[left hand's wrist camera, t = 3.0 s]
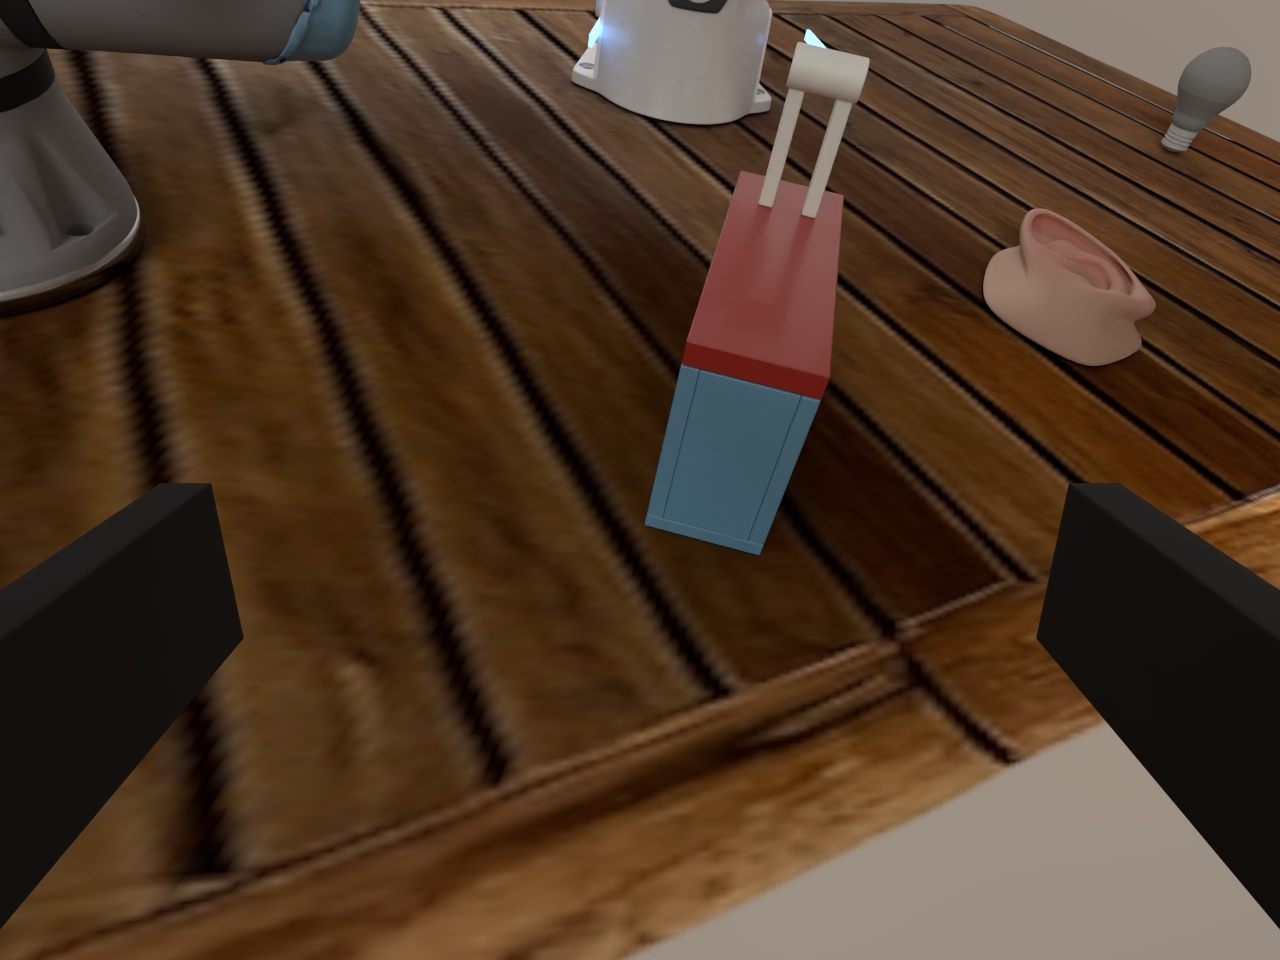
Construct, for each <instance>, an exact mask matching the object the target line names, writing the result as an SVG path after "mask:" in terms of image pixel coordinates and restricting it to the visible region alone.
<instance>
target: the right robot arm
mask: <svg viewBox="0 0 1280 960" xmlns="http://www.w3.org/2000/svg"><path fill="white" fill-rule="evenodd" d="M596 16H598V18H599V19H598V21H597V23H596V24H595V26H594V28H593V29H592V31H591V33H590V34H589V44H588V49H587V50H586V51H585V53H584V54H583V55H582V57H581V58H580V60H579V61H578V62H577V64H576V65H575V66H574V68H573V72H572V77H571V80H572V81H573V82H574V83H576V84H578V85H580V86H583V87H585V88H588V89H591V90H594V91H596V92H598V93H600V94H601V95H603V96H604V97H606V98H607V99H609V100H610V101H612V102H613V103H615V104H617V105H619V106H621V107H623V108H626V109H628V110H631V111H633V112H636V113H639V114H642V115H645V116H649V117H653V118H657V119H661V120H666V121H671V122H678V123H687V124H721V123H727V122H731V121H734V120H737V119H739V118H741V117H743V116H745V115H747V114H750V113H759V112H766V111H769V110H770V107H771V100H772V98H771V97H770V95H769V94H768V93H767V92H766V91H765V89H764V88H763V87H762V86H761V85H760V84H759V80H760V75H761V70H762V65H763V60H764V55H765V50H766V45H767V39H768V34H769V29H770V24H771V18H772V9H771V8H770V7H769V5H768V2H767V1H766V0H597V3H596ZM804 40H805V41H806V42H807V43H808V44H810V45H814V46H819V47H823V48H826V47H825V46H824V45H823V44H822V43H821V42H820V41H819V39H818V38H817V37H816V36H815V35H814V34H813V33H812V32H811V31H810V30H807V32H806V35H805V39H804Z"/></svg>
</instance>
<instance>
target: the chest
mask: <svg viewBox="0 0 1280 960" xmlns="http://www.w3.org/2000/svg"><path fill="white" fill-rule="evenodd" d="M819 404H820V399H817V398H813V397H809V396H805V395H801V394H797V393H793V392H789V391H786V390H782V389H778V388H774V387H770V386H766V385H762V384H758V383H754V382H750V381H746V380H742V379H738V378H735V377H731V376H727V375H723V374H719V373H715V372H711V371H707V370H703V369H699V368H695V367H691V366H687V365H684V364H681V368H680V372H679V376H678V381H677V385H676V390H675V394H674V398H673V403H672V407H671V411H670V416H669V420H668V425H667V429H666V433H665V438H664V442H663V446H662V451H661V455H660V460H659V464H658V468H657V473H656V477H655V481H654V486H653V490H652V495H651V499H650V503H649V508H648V512H647V516H646V521H645V525H647V526H650V527H654V528H658V529H662V530H666V531H669V532H673V533H677V534H681V535H684V536H688V537H692V538H696V539H699V540H703V541H707V542H711V543H714V544H718V545H722V546H726V547H729V548H733V549H737V550H741V551H744V552H748V553H752V554H756V555H760V553H761V551H762V548H763V546H764V543H765V540H766V538H767V535H768V533H769V530H770V528H771V525H772V523H773V520H774V517H775V515H776V512H777V510H778V507H779V505H780V502H781V500H782V497H783V495H784V492H785V490H786V487H787V485H788V482H789V480H790V477H791V474H792V472H793V469H794V467H795V464H796V462H797V459H798V457H799V454H800V452H801V449H802V447H803V444H804V442H805V439H806V436H807V434H808V431H809V429H810V426H811V424H812V421H813V419H814V416H815V414H816V411H817V409H818V406H819Z"/></svg>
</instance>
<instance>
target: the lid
mask: <svg viewBox="0 0 1280 960" xmlns="http://www.w3.org/2000/svg"><path fill="white" fill-rule="evenodd" d="M869 62H870V59H869V58H866V57H862V56H857V55H853V54H849V53H844V52H840V51H836V50H831V49H827V48H823V47H819V46H814V45H810V44H806V43H801V42H798V43H797V46H796V49H795V53H794V57H793V61H792V65H791V68H790V72H789V76H788V80H787V84H786V87H787V88H789V90H788V94H787V97H786V101H785V105H784V109H783V112H782V116H781V120H780V124H779V127H778V131H777V135H776V139H775V142H774V146H773V150H772V154H771V157H770V161H769V165H768V169H767V173H766V176H762V175H757V174H753V173H749V172H745V171H741V172H740V175H739V178H738V181H737V184H736V187H735V190H734V193H733V197H732V200H731V203H730V206H729V209H728V212H727V215H726V219H725V222H724V225H723V228H722V231H721V234H720V238H719V241H718V244H717V247H716V250H715V253H714V256H713V260H712V263H711V266H710V269H709V272H708V275H707V278H706V282H705V285H704V288H703V291H702V294H701V297H700V301H699V304H698V307H697V310H696V313H695V316H694V319H693V323H692V326H691V329H690V332H689V335H688V338H687V341H686V346H685V350H684V355H683V359H682V364H684V365H687V366H691V367H695V368H699V369H703V370H707V371H711V372H715V373H719V374H723V375H727V376H731V377H735V378H738V379H742V380H746V381H750V382H754V383H758V384H762V385H766V386H770V387H774V388H778V389H782V390H786V391H789V392H793V393H797V394H801V395H805V396H809V397H813V398H817V399H821V398H822V396H823V394H824V391H825V389H826V386H827V384H828V381H829V379H830V370H831V356H832V343H833V330H834V317H835V304H836V291H837V278H838V265H839V252H840V239H841V226H842V213H843V200H844V196H843V195H840V194H836V193H832V192H828V191H825V188H826V184H827V181H828V178H829V175H830V172H831V169H832V166H833V163H834V160H835V157H836V154H837V150H838V147H839V144H840V141H841V138H842V135H843V132H844V129H845V126H846V123H847V119H848V116H849V113H850V110H851V107H852V104H853V103H854V104H855V103H857V101H858V99H859V97H860V94H861V91H862V88H863V85H864V82H865V78H866V75H867V71H868V67H869ZM805 92H808V93H812V94H816V95H820V96H825V97H829V98H833V99H836V101H835V104H834V108H833V111H832V114H831V117H830V121H829V124H828V127H827V130H826V133H825V137H824V140H823V143H822V146H821V150H820V153H819V156H818V159H817V163H816V166H815V169H814V172H813V176H812V179H811V182H810V185H809V187H807V186H803V185H799V184H795V183H791V182H786V181H782V180H780V179H781V175H782V172H783V168H784V165H785V161H786V157H787V154H788V150H789V147H790V143H791V140H792V136H793V132H794V129H795V125H796V122H797V118H798V115H799V111H800V107H801V104H802V100H803V97H804V93H805Z"/></svg>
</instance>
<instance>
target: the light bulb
mask: <svg viewBox="0 0 1280 960" xmlns="http://www.w3.org/2000/svg"><path fill="white" fill-rule="evenodd" d="M1250 78H1251V66H1250V62H1249V60H1248V58H1247V57H1246V56H1245V55H1244V54H1243V53H1242V52H1241V51H1239V50H1237V49H1235V48H1231V47H1218V48H1213V49H1211V50H1208V51H1206V52H1204V53H1202V54H1200V55H1199V56H1197V57H1196V58H1194V59H1193V60H1192V61H1191V62H1190V63H1189V64H1188V65H1187V66H1186V68H1185V69H1184V71H1183V73H1182V75H1181V77H1180V80H1179V83H1178V100H1177V108H1176V111H1175V113H1174V115H1173V118H1172V124H1171V126H1170V128H1169V130H1168V131H1167V134H1165V137H1164V138H1163V139H1162V141H1161V142H1162V144H1163V145H1164V146H1165V148H1166V149H1167V150H1169V151H1172V152H1180V151H1186V150H1187V149H1188V147H1187V146H1190V144H1189V143H1190V142H1192V140H1191V139H1193V138H1195V136H1196V135H1197V133H1198V132H1199V131H1200V130H1202V129H1203V128H1204V127H1205V126H1206V125H1207V124H1208V123H1209V121H1210V120H1211V119H1212V118H1214V117H1215V116H1216V115H1218V114H1219V113H1220V112H1222V111H1223V110H1225V109H1227V108H1228V107H1229V106H1231V105H1232V104H1234V103H1235V102H1236V101H1237V100H1238V99H1239V98H1240V97H1241V96H1242V95H1243V94H1244V92H1245V91H1246V89H1247V88H1248V85H1249V82H1250Z"/></svg>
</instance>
